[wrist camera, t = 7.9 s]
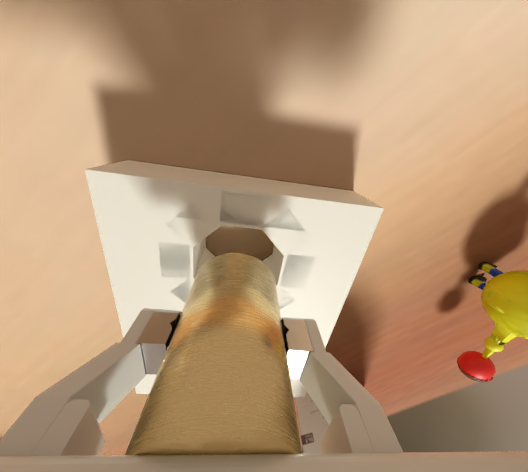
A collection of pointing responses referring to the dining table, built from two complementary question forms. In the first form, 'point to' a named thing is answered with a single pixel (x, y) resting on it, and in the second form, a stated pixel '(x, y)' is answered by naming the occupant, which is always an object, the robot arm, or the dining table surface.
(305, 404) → the skincare box
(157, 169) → the jig
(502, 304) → the toy figure
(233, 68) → the dining table surface
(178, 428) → the bushing
